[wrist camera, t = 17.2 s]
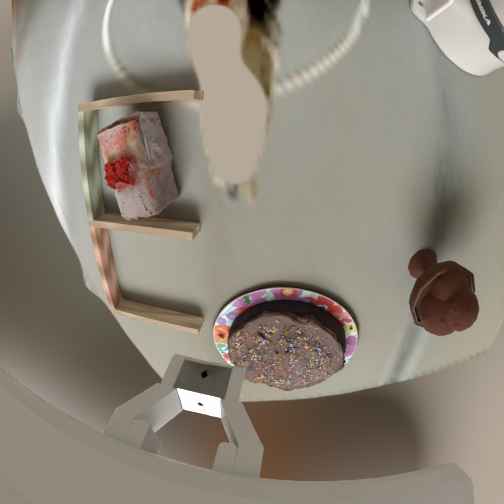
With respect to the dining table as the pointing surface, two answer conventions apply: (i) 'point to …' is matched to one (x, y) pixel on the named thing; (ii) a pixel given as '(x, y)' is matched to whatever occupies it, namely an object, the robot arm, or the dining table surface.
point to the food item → (138, 165)
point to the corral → (105, 221)
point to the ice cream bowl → (442, 295)
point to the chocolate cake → (285, 336)
